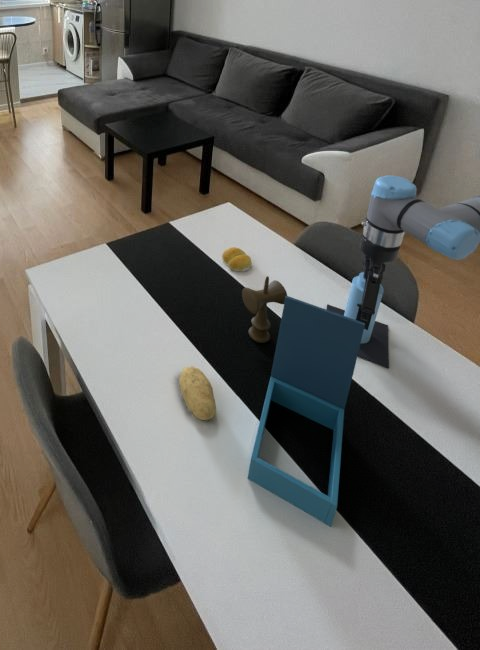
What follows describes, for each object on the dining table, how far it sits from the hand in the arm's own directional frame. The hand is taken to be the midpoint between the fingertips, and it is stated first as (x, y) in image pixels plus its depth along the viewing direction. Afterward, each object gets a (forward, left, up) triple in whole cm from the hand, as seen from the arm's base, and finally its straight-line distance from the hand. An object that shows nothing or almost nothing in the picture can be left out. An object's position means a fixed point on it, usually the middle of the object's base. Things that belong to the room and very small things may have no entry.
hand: (361, 310), depth 107 cm
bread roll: (+33, -12, -9) cm, 36 cm away
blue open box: (+9, +39, -8) cm, 41 cm away
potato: (+29, +38, -9) cm, 49 cm away
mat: (0, 0, -8) cm, 8 cm away
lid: (+9, +28, +10) cm, 31 cm away
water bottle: (0, 0, -8) cm, 8 cm away
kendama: (+21, +13, -9) cm, 26 cm away
